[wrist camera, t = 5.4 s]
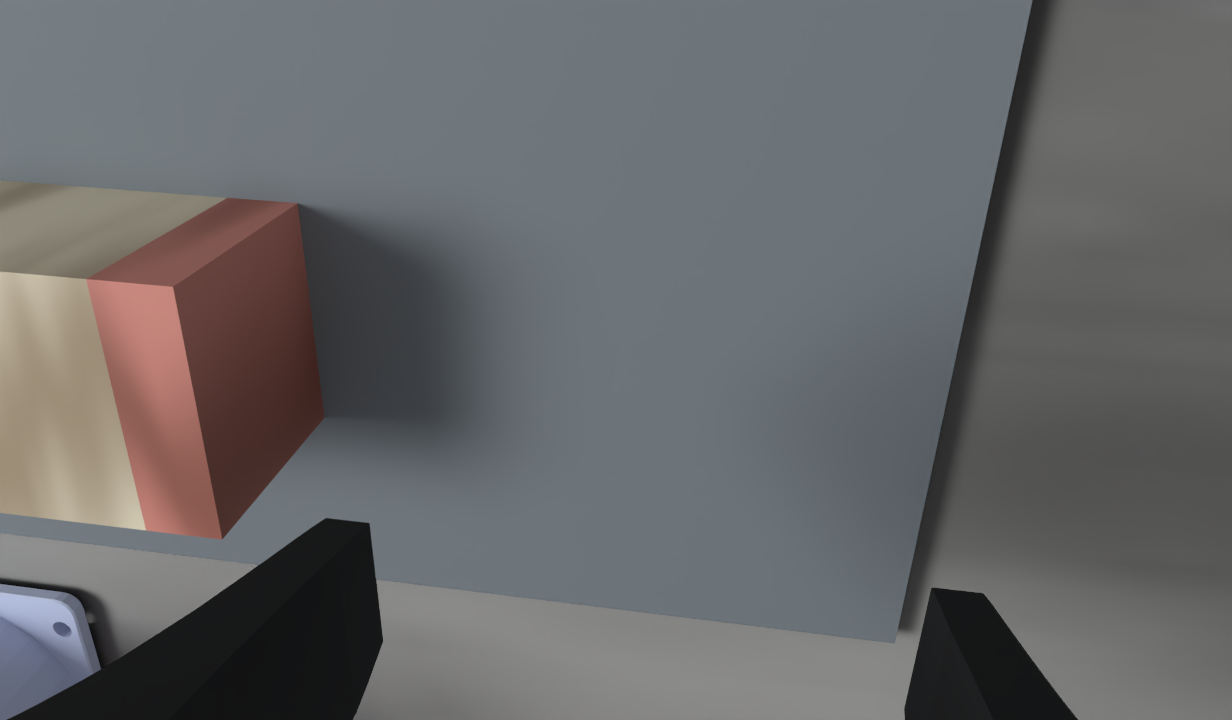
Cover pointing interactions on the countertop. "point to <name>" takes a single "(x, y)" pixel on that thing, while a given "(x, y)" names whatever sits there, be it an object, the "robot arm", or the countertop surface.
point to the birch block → (150, 355)
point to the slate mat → (575, 271)
